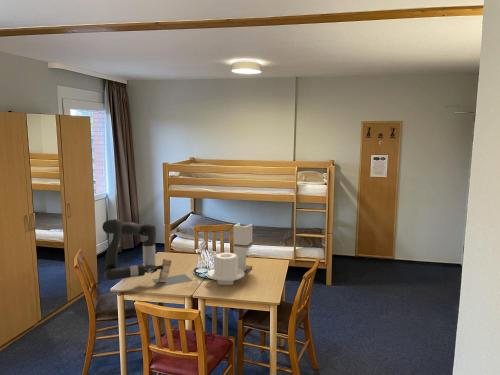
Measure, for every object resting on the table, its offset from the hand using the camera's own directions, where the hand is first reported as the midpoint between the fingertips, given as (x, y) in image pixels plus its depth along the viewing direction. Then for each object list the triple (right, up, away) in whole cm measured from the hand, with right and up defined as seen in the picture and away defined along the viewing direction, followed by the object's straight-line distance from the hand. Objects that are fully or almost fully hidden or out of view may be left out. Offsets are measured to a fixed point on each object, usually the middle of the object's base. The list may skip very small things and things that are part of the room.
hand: (162, 266), depth 271 cm
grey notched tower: (+55, -8, +28) cm, 62 cm away
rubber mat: (+6, -11, +5) cm, 13 cm away
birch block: (0, -10, +1) cm, 10 cm away
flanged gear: (+44, -11, +2) cm, 45 cm away
